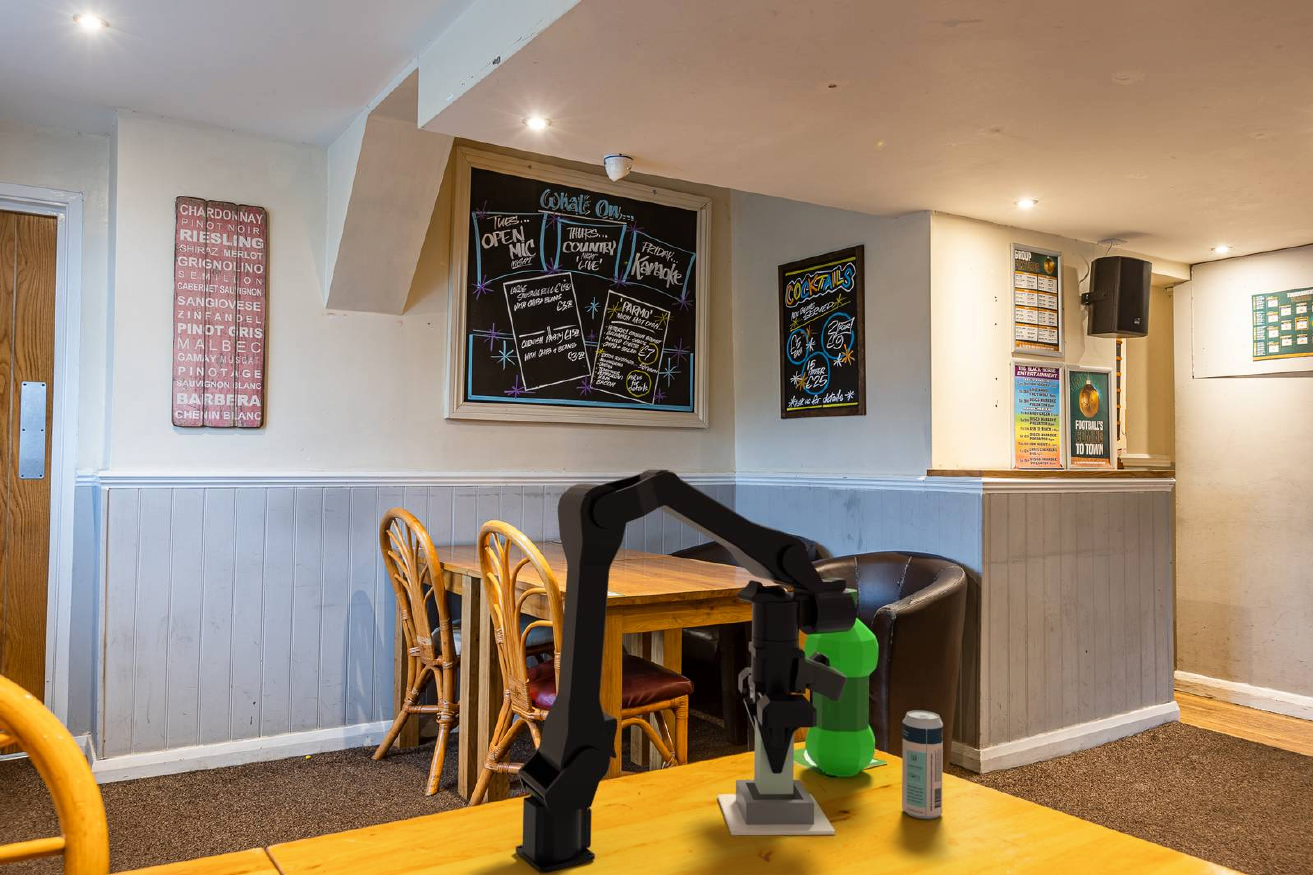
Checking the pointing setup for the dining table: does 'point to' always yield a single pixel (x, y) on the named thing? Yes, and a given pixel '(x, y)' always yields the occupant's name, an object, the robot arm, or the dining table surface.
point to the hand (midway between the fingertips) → (773, 767)
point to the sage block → (765, 776)
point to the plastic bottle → (844, 702)
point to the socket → (773, 812)
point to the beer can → (922, 764)
